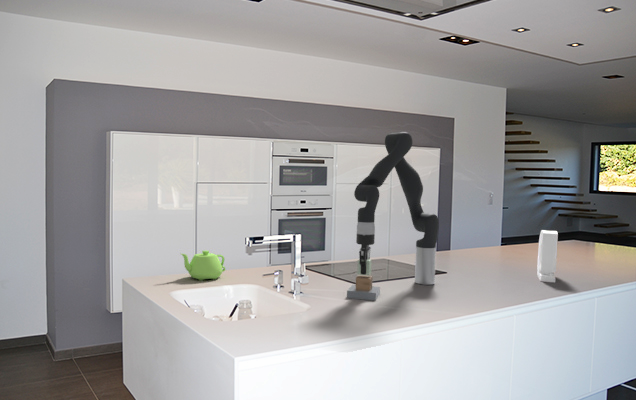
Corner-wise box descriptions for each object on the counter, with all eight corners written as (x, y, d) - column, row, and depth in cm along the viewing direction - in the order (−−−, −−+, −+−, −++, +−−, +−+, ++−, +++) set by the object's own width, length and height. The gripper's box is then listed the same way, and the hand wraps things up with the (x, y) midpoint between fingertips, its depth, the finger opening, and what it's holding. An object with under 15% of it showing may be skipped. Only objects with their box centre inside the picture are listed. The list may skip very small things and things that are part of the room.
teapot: (184, 283, 235) (184, 254, 235) (175, 277, 248) (175, 249, 247) (230, 279, 247) (231, 251, 246) (219, 273, 259) (219, 247, 259)
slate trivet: (352, 291, 228) (352, 284, 228) (379, 293, 225) (380, 286, 225) (346, 297, 216) (347, 290, 216) (375, 300, 213) (375, 293, 213)
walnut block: (358, 286, 224) (358, 275, 224) (372, 287, 223) (372, 276, 222) (355, 289, 218) (355, 277, 218) (369, 290, 217) (370, 279, 217)
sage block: (359, 272, 223) (359, 258, 223) (371, 273, 222) (371, 259, 222) (357, 274, 218) (357, 260, 218) (369, 275, 217) (369, 261, 217)
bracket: (540, 281, 260) (543, 231, 259) (536, 273, 280) (539, 227, 279) (555, 282, 258) (558, 232, 257) (550, 274, 278) (553, 227, 276)
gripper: (359, 230, 227) (358, 269, 228) (353, 234, 213) (352, 275, 214) (377, 231, 225) (375, 270, 226) (371, 235, 211) (370, 277, 212)
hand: (364, 272), depth 220 cm, fingers closed on sage block, 5 cm apart
